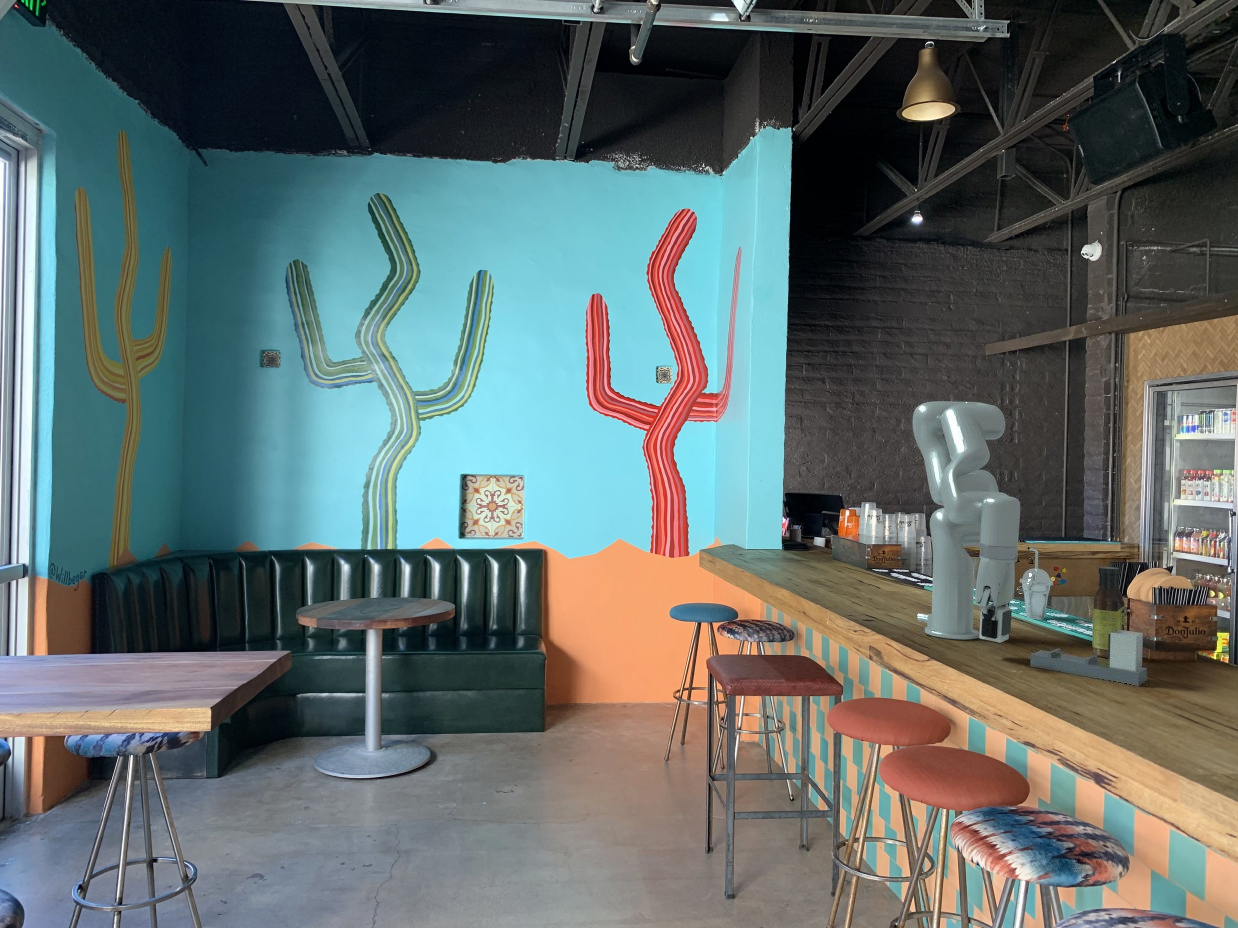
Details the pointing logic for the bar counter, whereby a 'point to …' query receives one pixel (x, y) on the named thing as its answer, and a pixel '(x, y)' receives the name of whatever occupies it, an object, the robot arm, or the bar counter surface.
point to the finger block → (1000, 624)
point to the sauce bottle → (1107, 610)
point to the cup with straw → (1035, 590)
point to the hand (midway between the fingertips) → (994, 634)
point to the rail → (1120, 668)
